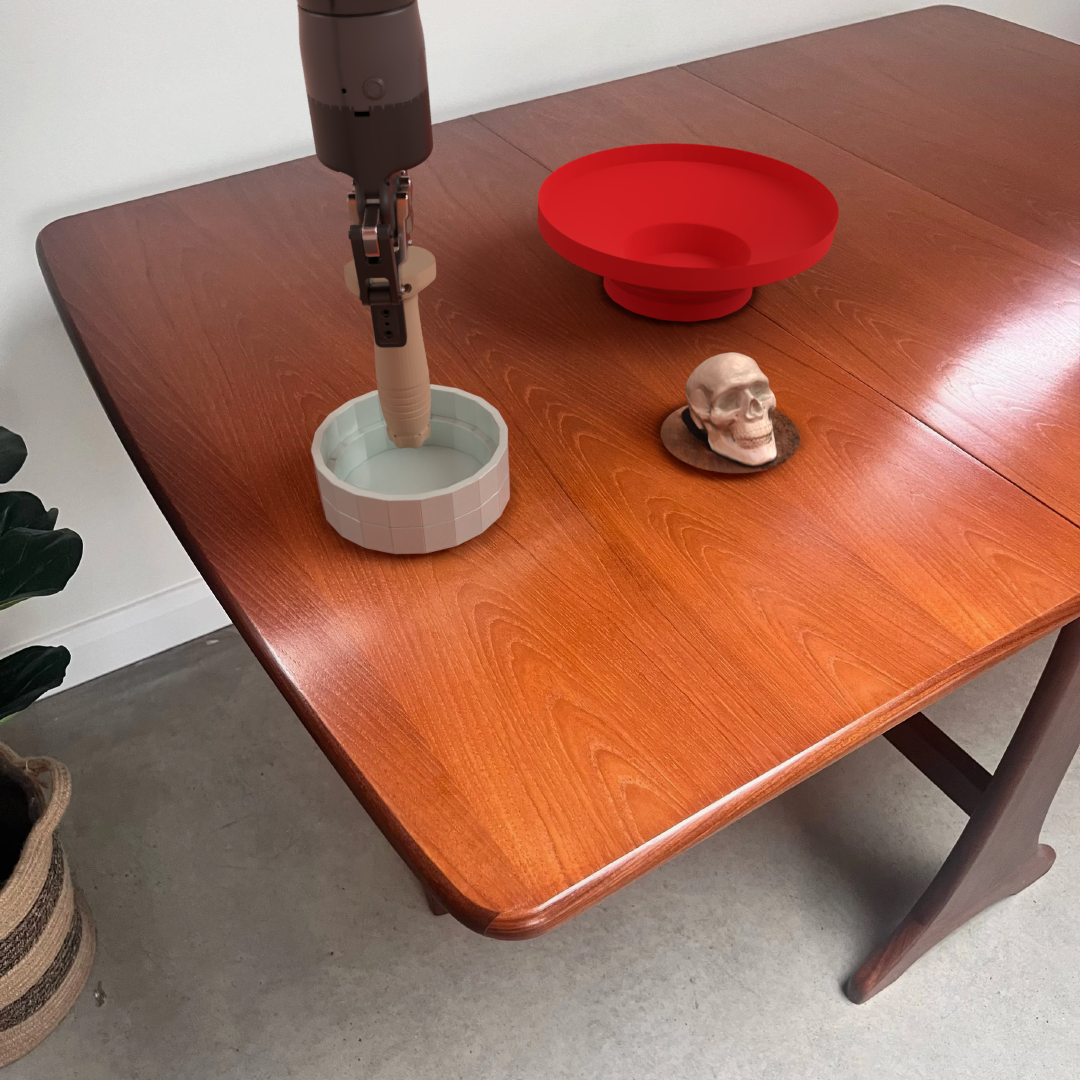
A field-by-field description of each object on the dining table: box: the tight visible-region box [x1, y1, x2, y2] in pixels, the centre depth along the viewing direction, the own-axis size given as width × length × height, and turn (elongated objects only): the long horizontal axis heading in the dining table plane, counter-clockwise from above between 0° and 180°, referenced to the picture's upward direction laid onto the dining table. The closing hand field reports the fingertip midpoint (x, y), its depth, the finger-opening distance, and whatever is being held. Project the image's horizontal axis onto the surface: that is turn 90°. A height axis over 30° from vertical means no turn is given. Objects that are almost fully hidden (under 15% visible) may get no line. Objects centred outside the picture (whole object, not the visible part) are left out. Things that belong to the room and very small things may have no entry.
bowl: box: [537, 142, 840, 323], centre depth 109 cm, size 30×30×10 cm
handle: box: [343, 245, 437, 449], centre depth 77 cm, size 5×6×15 cm
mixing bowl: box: [310, 383, 511, 555], centre depth 84 cm, size 15×15×6 cm
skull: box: [660, 351, 801, 474], centre depth 90 cm, size 12×10×10 cm
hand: (395, 321), depth 75 cm, fingers closed on handle, 5 cm apart
